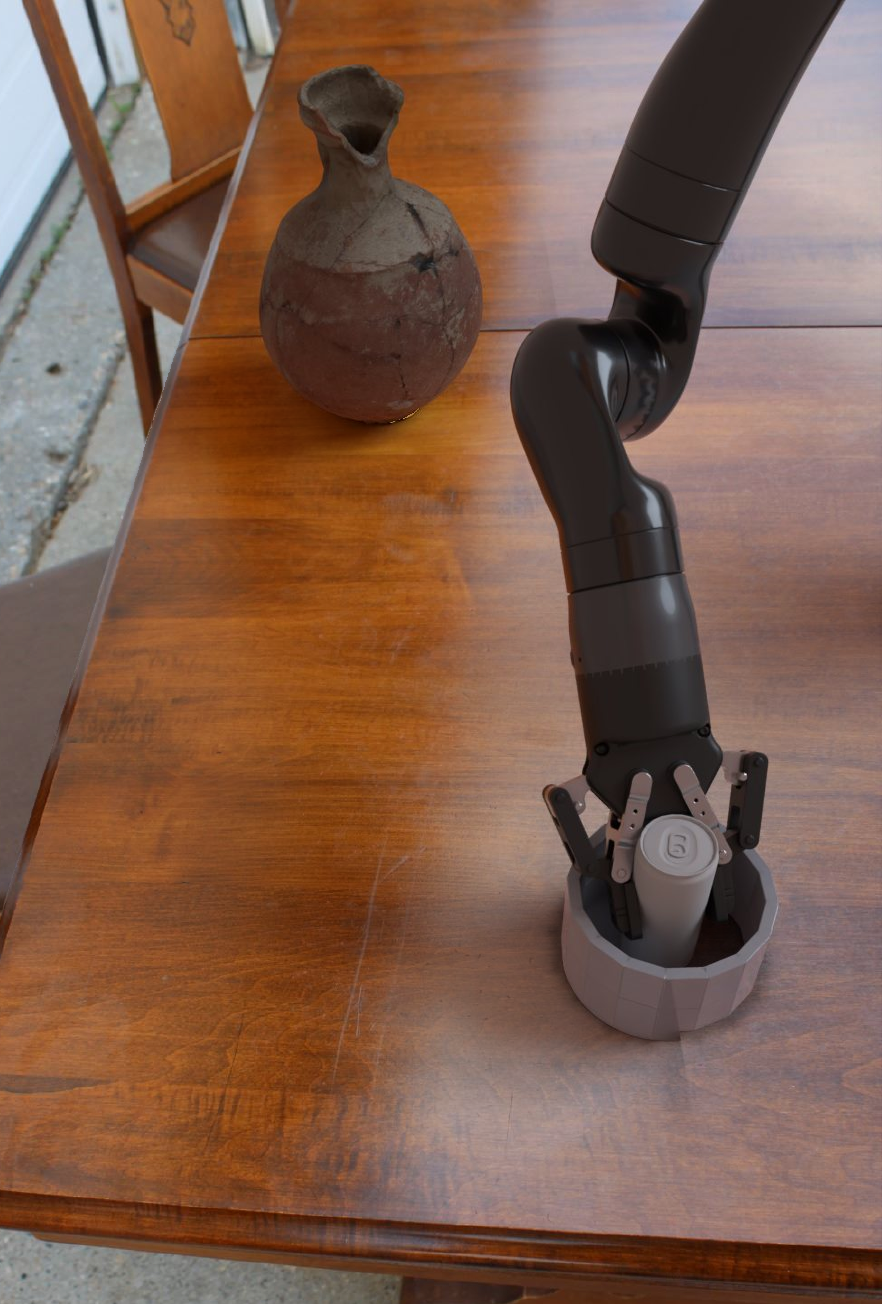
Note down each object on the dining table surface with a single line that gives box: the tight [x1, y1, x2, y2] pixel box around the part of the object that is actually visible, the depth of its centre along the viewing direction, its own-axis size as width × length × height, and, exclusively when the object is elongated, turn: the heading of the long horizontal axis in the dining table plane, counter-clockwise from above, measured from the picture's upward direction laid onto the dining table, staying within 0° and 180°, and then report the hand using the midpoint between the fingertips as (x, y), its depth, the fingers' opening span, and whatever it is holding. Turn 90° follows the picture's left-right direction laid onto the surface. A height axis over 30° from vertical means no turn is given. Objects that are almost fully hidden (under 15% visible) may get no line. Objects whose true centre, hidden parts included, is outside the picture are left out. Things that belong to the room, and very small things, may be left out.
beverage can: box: [620, 814, 719, 968], centre depth 76 cm, size 5×5×12 cm
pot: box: [560, 819, 780, 1042], centre depth 78 cm, size 13×13×8 cm
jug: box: [258, 63, 484, 425], centre depth 112 cm, size 22×22×30 cm
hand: (675, 928), depth 75 cm, fingers closed on beverage can, 4 cm apart
